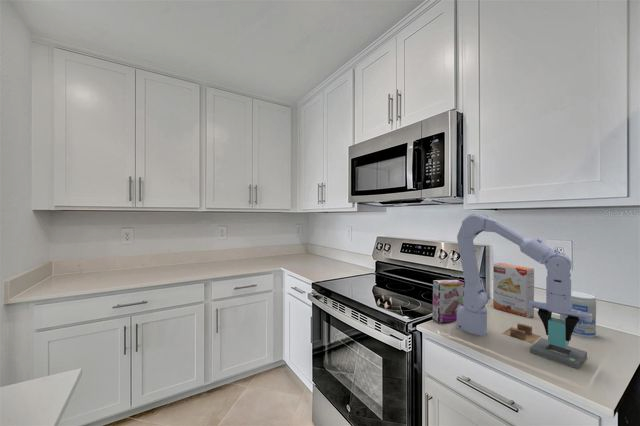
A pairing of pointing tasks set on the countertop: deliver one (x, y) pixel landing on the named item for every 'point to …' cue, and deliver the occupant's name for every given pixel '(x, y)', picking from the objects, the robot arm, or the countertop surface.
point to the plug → (557, 332)
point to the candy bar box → (447, 300)
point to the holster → (522, 333)
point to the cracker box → (513, 289)
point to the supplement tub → (583, 304)
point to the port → (572, 360)
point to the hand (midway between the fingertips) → (558, 337)
